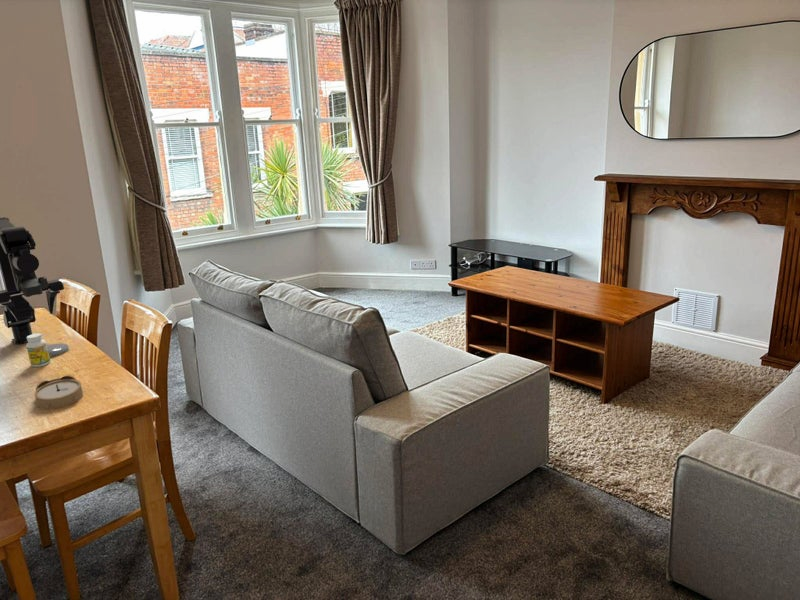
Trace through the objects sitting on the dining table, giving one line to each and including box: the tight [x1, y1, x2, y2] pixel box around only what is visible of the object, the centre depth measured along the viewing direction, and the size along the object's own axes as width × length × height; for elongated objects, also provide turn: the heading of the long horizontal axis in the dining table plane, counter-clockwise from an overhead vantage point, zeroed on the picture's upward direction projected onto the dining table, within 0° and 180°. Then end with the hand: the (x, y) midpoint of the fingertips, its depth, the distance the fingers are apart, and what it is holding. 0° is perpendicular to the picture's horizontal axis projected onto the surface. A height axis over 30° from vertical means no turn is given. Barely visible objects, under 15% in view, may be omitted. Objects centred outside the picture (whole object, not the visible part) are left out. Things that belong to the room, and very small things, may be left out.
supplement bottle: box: [25, 333, 51, 368], centre depth 191 cm, size 5×5×10 cm
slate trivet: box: [46, 343, 70, 359], centre depth 201 cm, size 11×11×1 cm
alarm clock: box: [34, 374, 84, 410], centre depth 167 cm, size 11×5×15 cm
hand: (35, 317), depth 190 cm, fingers open, 9 cm apart
